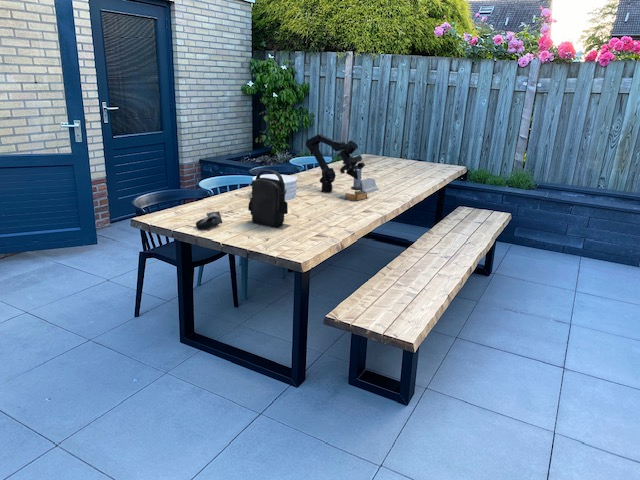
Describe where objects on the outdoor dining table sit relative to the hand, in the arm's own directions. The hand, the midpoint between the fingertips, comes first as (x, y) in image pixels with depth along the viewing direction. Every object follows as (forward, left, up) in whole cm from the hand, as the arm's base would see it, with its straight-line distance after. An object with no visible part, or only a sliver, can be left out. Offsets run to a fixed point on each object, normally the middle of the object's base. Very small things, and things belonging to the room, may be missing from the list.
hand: (359, 178), depth 304 cm
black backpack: (-36, -70, -13) cm, 80 cm away
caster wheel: (-63, -86, -14) cm, 108 cm away
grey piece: (-1, +1, -7) cm, 7 cm away
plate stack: (-52, -9, -14) cm, 55 cm away
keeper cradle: (-3, +2, -13) cm, 14 cm away
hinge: (+3, +27, -14) cm, 30 cm away
